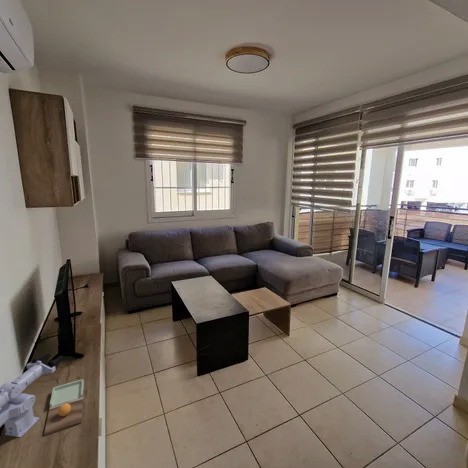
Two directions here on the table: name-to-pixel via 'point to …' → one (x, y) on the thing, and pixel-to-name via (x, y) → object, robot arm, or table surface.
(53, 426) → the lane
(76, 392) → the tray
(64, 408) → the ball
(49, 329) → the table surface
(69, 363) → the table surface
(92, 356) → the table surface
